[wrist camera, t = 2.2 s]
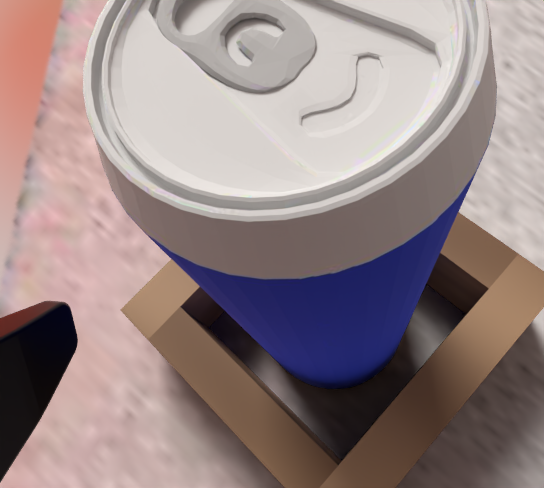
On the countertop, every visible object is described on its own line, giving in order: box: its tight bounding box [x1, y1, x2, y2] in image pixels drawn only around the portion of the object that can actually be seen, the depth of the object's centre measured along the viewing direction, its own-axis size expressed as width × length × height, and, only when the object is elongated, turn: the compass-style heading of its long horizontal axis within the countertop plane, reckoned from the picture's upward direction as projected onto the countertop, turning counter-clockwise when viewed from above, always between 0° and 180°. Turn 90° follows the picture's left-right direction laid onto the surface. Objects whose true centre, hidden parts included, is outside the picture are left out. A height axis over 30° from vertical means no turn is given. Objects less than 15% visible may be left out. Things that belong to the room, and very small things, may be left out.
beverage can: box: [83, 0, 497, 389], centre depth 13 cm, size 5×5×15 cm
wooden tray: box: [121, 212, 544, 488], centre depth 18 cm, size 10×10×4 cm
